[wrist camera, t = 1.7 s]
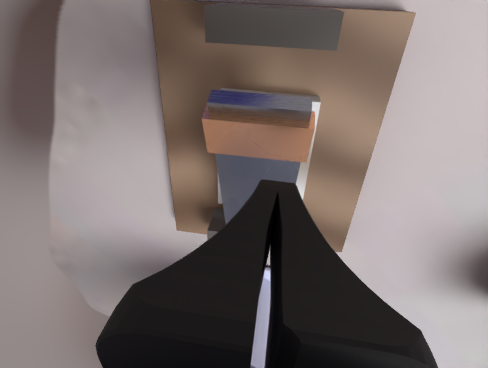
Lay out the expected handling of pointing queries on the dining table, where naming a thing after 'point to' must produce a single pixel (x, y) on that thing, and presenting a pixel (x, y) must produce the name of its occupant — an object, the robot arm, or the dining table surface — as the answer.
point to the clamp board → (277, 83)
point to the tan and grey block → (256, 141)
